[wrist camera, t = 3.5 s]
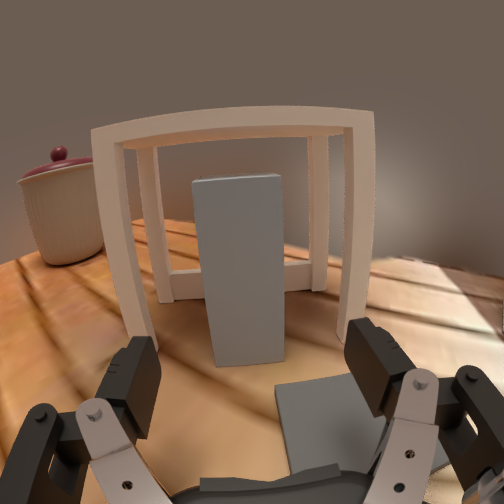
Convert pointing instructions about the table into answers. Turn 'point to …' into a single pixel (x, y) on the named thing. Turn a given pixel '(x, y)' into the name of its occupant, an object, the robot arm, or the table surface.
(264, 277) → the blank
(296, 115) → the rack
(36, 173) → the canister
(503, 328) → the milk carton
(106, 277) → the table surface
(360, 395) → the mat
